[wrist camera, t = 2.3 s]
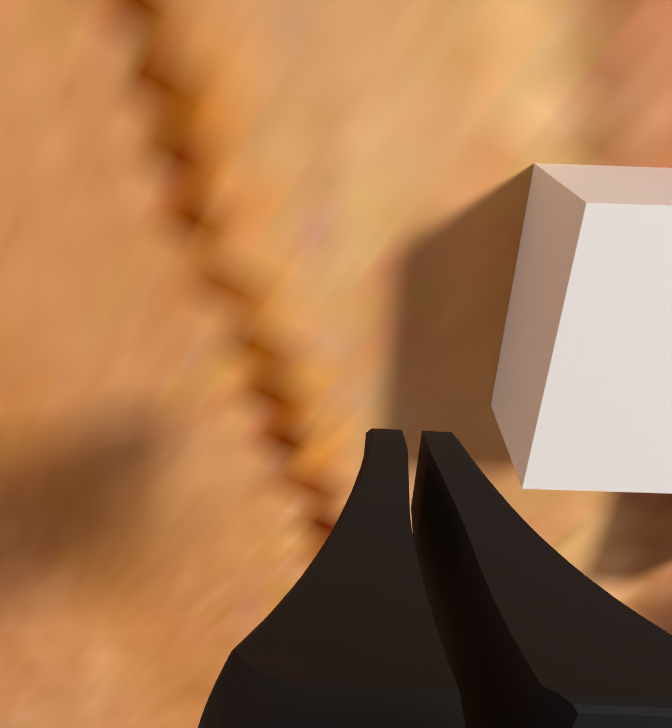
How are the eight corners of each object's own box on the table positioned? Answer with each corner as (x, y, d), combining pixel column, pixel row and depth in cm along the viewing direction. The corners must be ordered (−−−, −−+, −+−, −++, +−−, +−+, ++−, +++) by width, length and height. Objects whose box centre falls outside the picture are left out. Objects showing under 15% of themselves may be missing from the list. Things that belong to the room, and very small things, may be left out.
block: (619, 407, 24) (680, 493, 20) (490, 403, 24) (522, 488, 20) (691, 167, 20) (789, 209, 15) (532, 162, 20) (586, 202, 15)
